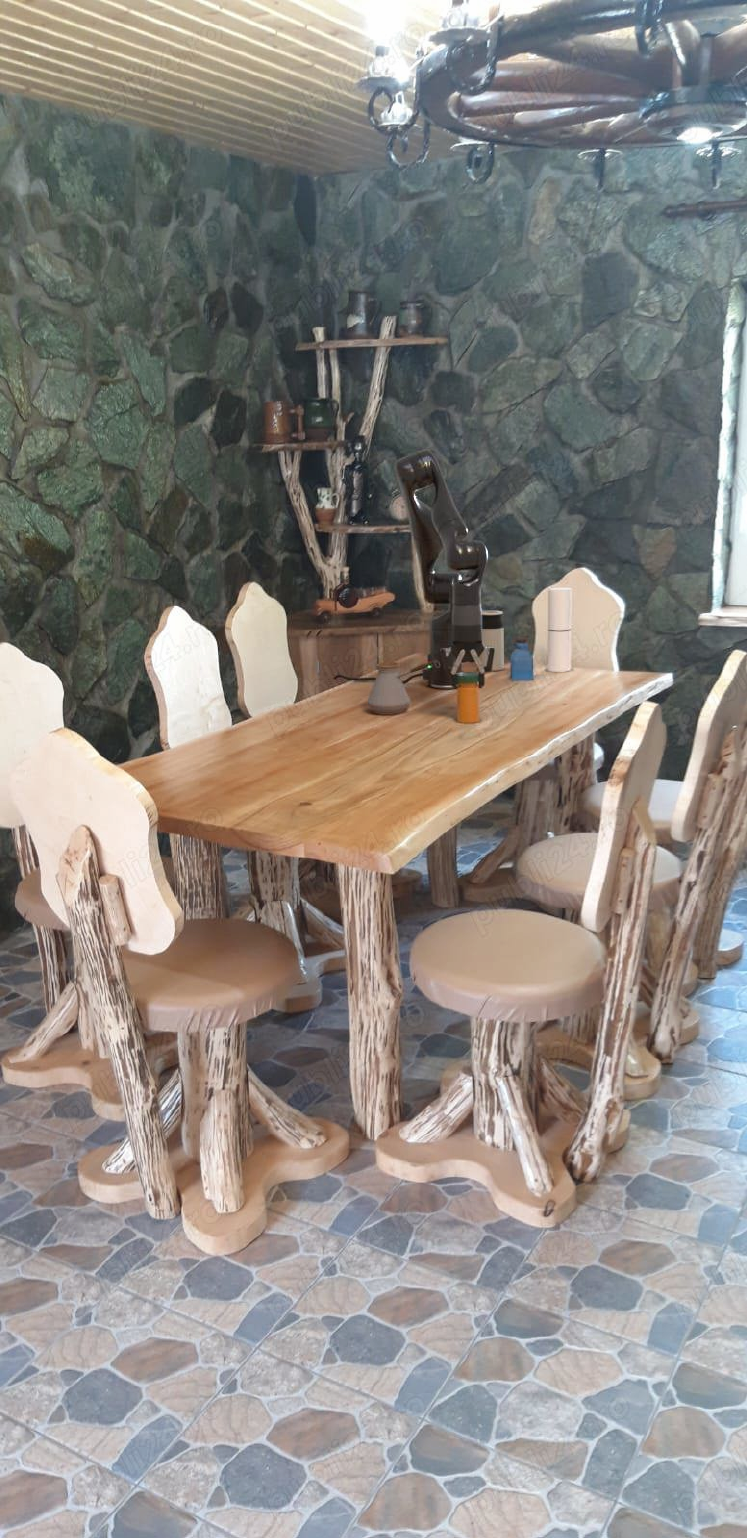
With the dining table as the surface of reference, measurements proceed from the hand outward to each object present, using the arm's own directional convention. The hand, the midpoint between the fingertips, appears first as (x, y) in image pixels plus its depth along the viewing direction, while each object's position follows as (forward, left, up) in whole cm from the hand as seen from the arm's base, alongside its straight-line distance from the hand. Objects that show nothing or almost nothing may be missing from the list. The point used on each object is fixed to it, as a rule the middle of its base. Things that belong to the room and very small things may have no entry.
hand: (467, 687), depth 299 cm
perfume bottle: (-11, +58, -9) cm, 60 cm away
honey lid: (0, 0, +3) cm, 3 cm away
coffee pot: (-19, +1, -9) cm, 21 cm away
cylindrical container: (-6, +75, -9) cm, 76 cm away
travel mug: (-26, +68, -9) cm, 73 cm away
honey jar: (0, 0, -9) cm, 9 cm away
